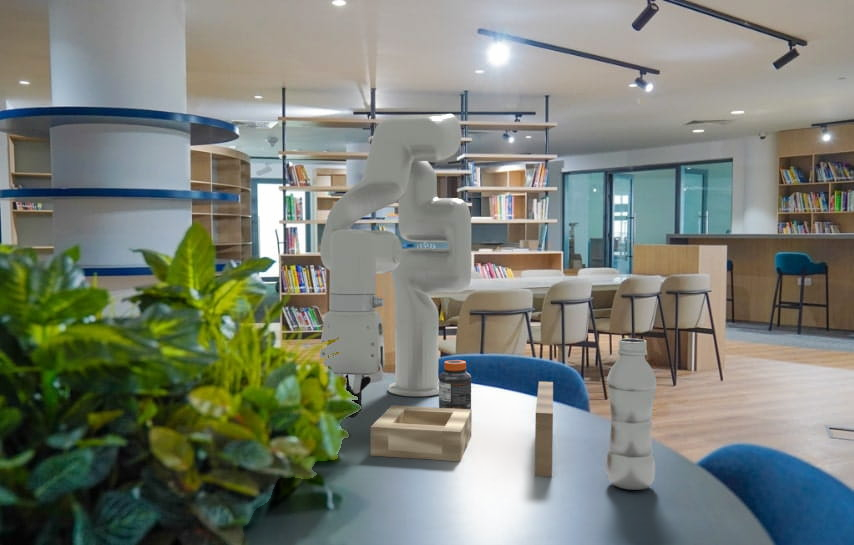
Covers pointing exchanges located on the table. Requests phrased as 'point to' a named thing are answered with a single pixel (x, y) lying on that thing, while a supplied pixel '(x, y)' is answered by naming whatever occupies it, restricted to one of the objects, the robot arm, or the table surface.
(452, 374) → the pill bottle
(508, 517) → the table surface
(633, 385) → the plastic bottle
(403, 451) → the socket block
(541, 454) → the backstop wall
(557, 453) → the table surface
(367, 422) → the table surface
